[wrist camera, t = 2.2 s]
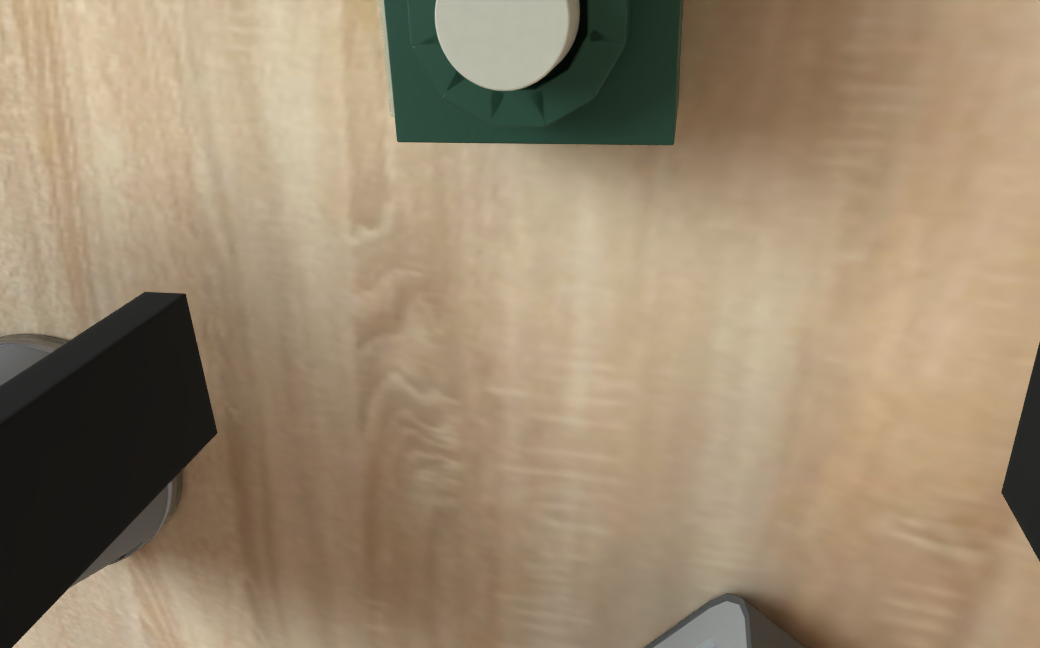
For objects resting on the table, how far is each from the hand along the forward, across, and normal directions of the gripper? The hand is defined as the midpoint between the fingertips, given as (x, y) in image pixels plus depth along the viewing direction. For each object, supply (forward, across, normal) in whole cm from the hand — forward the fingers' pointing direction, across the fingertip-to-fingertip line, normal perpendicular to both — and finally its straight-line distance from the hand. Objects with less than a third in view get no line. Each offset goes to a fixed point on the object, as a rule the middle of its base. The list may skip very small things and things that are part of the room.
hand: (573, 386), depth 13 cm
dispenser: (+25, -4, +4) cm, 26 cm away
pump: (+16, -4, +4) cm, 17 cm away
